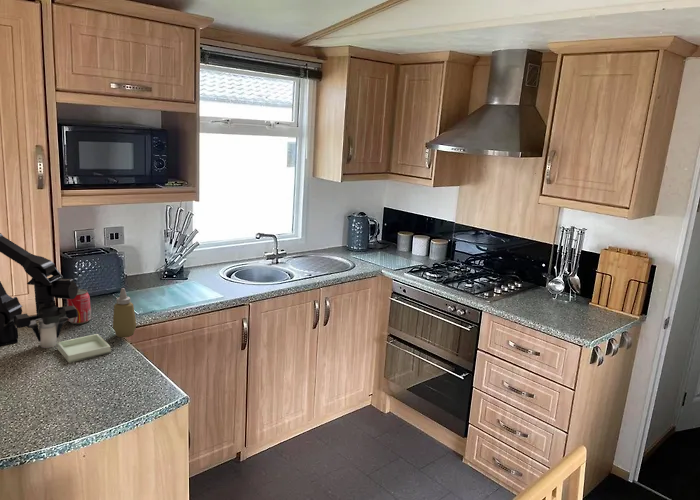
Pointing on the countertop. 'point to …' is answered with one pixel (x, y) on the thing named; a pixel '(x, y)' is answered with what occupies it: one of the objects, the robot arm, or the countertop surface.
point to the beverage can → (80, 307)
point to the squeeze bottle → (124, 316)
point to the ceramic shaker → (47, 335)
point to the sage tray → (83, 348)
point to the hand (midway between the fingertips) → (48, 339)
